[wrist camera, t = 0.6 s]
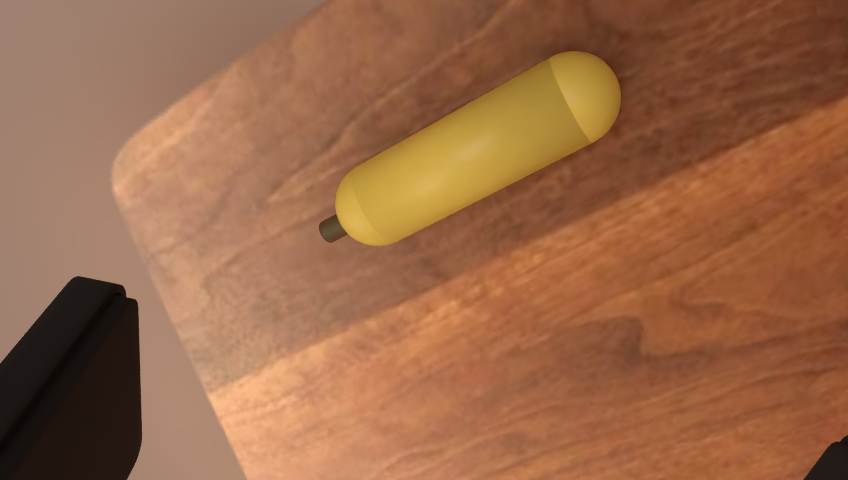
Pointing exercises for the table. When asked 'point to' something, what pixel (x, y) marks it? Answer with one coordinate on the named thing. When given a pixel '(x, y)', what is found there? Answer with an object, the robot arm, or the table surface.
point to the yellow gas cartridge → (477, 150)
